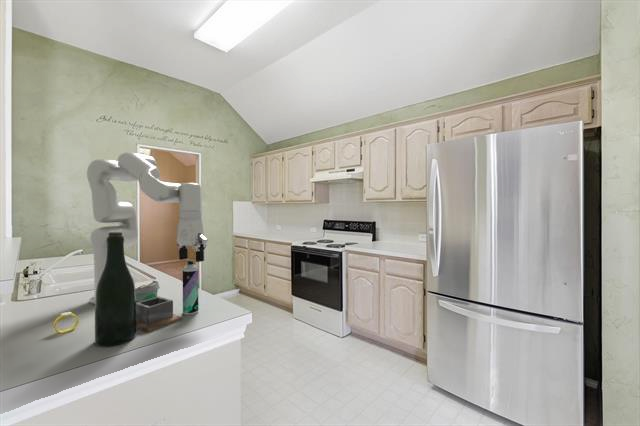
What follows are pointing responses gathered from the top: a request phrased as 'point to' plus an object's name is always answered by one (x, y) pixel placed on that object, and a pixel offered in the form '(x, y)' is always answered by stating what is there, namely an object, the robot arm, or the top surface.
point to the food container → (147, 291)
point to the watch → (65, 316)
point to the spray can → (190, 289)
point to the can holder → (155, 314)
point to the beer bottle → (115, 297)
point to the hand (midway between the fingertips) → (191, 260)
